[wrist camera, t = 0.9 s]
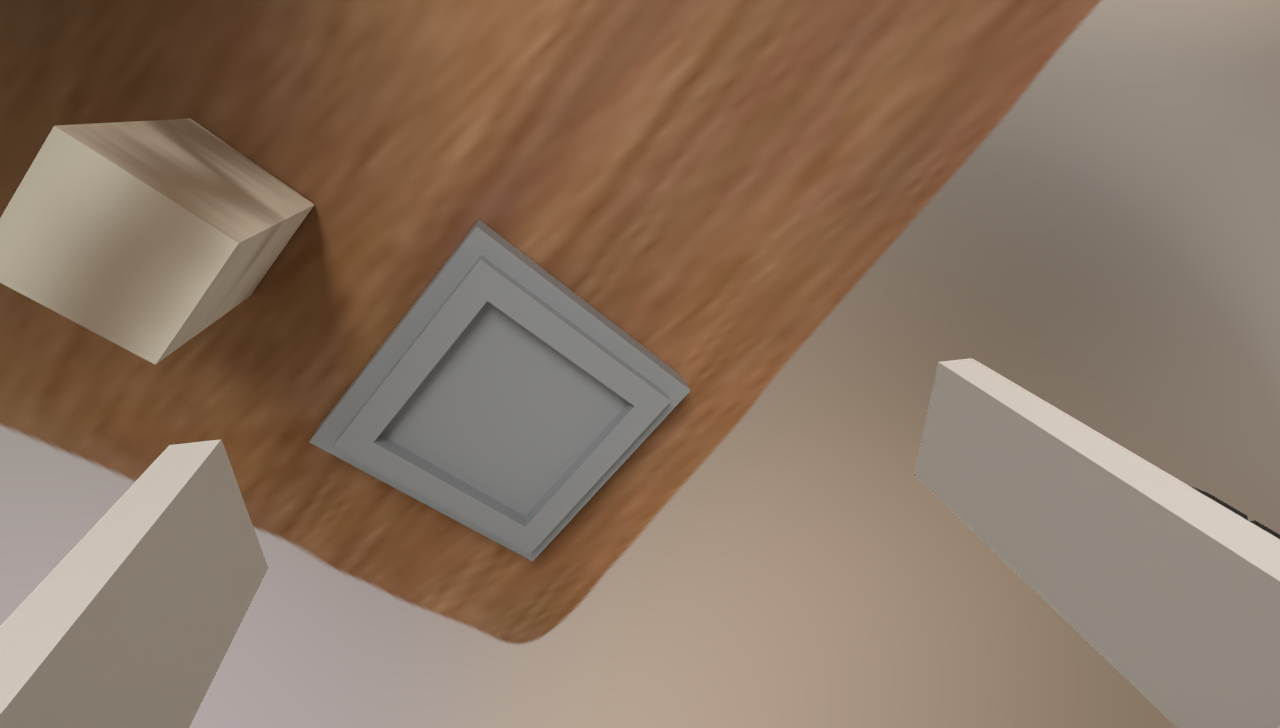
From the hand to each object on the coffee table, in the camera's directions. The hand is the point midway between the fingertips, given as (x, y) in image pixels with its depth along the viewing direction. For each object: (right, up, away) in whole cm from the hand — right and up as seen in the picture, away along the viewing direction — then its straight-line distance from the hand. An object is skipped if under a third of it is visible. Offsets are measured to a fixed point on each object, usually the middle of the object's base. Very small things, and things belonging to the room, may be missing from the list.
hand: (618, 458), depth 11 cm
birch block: (-20, +9, +18) cm, 28 cm away
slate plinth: (-7, 0, +24) cm, 26 cm away
